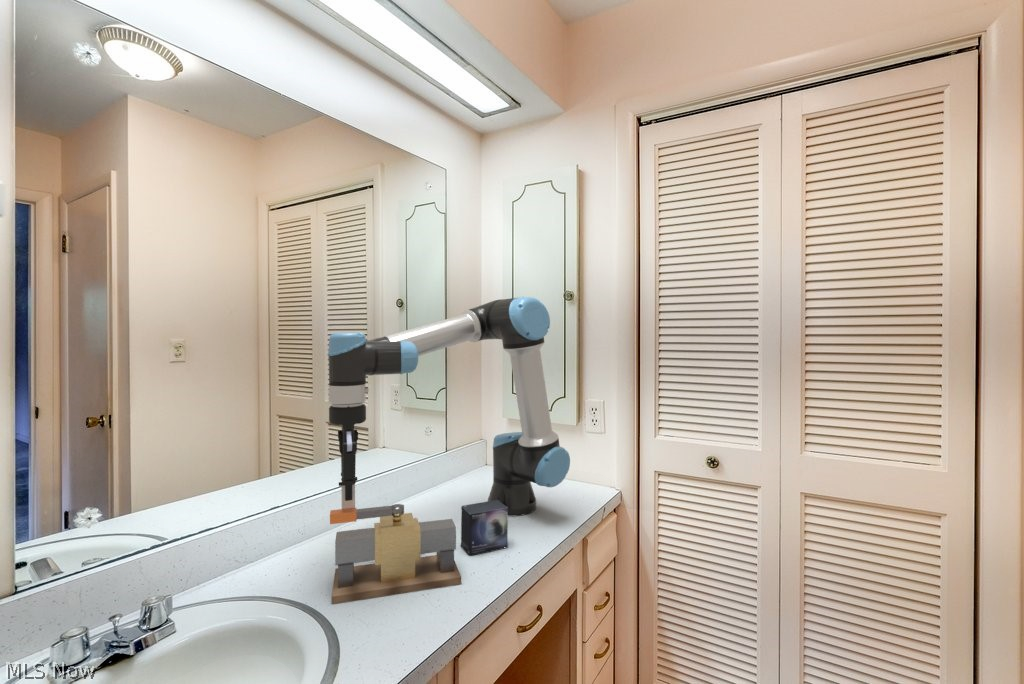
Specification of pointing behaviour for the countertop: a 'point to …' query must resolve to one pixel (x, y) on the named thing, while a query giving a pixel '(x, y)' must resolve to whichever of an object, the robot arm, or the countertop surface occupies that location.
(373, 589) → the base board
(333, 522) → the valve lever
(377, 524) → the valve
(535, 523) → the countertop surface
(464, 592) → the countertop surface
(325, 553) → the countertop surface
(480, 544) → the small box
